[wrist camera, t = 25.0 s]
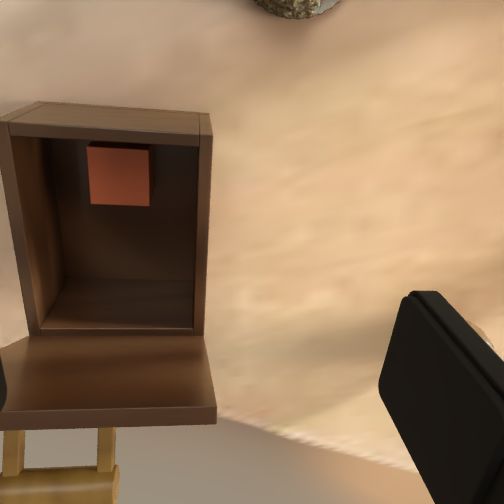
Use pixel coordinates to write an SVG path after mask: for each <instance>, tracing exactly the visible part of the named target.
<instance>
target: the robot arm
mask: <svg viewBox="0 0 504 504" xmlns="http://www.w3.org/2000/svg"><path fill="white" fill-rule="evenodd" d="M378 388H379V394H380V396H381V399H382V401H383V402H384V404H385V406H386V408H387V410H388V412H389V414H390V416H391V418H392V420H393V422H394V424H395V426H396V428H397V430H398V432H399V434H400V436H401V438H402V440H403V442H404V444H405V446H406V448H407V450H408V452H409V454H410V455H411V457H412V459H413V461H414V463H415V465H416V467H417V469H418V471H419V473H420V475H421V477H422V479H423V481H424V483H425V485H426V487H427V489H428V491H429V493H430V495H431V497H432V499H433V501H434V503H435V504H504V361H503V360H502V359H501V358H500V357H499V356H498V355H497V354H496V353H495V351H494V350H493V349H492V348H491V347H490V346H489V345H488V344H487V343H486V342H485V341H484V340H483V339H482V338H481V337H480V336H479V334H478V333H477V332H476V331H475V330H474V329H473V328H472V327H471V326H470V325H469V324H468V323H467V322H466V321H465V320H464V319H463V317H462V316H461V315H460V314H459V313H458V312H457V311H456V310H455V309H454V308H453V307H452V306H451V305H450V304H449V303H448V302H447V300H446V299H445V298H444V297H443V296H442V295H441V294H440V293H439V292H437V291H412V292H410V294H409V295H408V296H406V297H404V298H403V299H402V301H401V304H400V307H399V311H398V315H397V318H396V322H395V325H394V329H393V332H392V336H391V339H390V343H389V346H388V350H387V353H386V357H385V361H384V364H383V368H382V371H381V375H380V378H379V383H378ZM6 398H7V384H6V379H5V375H4V370H3V365H2V361H1V356H0V413H1V411H2V409H3V407H4V405H5V402H6Z"/></svg>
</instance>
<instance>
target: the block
mask: <svg viewBox="0 0 504 504" xmlns="http://www.w3.org/2000/svg"><path fill="white" fill-rule="evenodd" d="M86 150H87V163H88V175H89V187H90V199H91V204H106V205H130V206H150V203H151V199H152V195H153V192H154V144H139V143H122V142H105V141H91V142H90V143H89V144H88V145H87V146H86Z"/></svg>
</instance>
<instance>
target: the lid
mask: <svg viewBox="0 0 504 504" xmlns="http://www.w3.org/2000/svg"><path fill="white" fill-rule="evenodd" d="M0 356H1V361H2V365H3V370H4V375H5V379H6V384H7V398H6V402H5V405H4V407H3V409H2V411H1V413H0V431H4V439H3V440H4V441H3V467H2V472H1V474H0V504H116V503H117V497H118V490H119V466H118V465H115V439H116V427H141V426H173V425H174V426H175V425H207V424H216V423H217V403H216V398H215V393H214V387H213V382H212V377H211V371H210V366H209V361H208V356H207V350H206V345H205V340H204V336H27V337H25V338H23V339H21V340H19V341H17V342H14V343H12V344H10V345H8V346H6V347H4V348H1V349H0ZM75 428H98V448H97V466H75V467H50V468H27V469H24V449H25V430H39V429H40V430H42V429H75Z"/></svg>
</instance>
